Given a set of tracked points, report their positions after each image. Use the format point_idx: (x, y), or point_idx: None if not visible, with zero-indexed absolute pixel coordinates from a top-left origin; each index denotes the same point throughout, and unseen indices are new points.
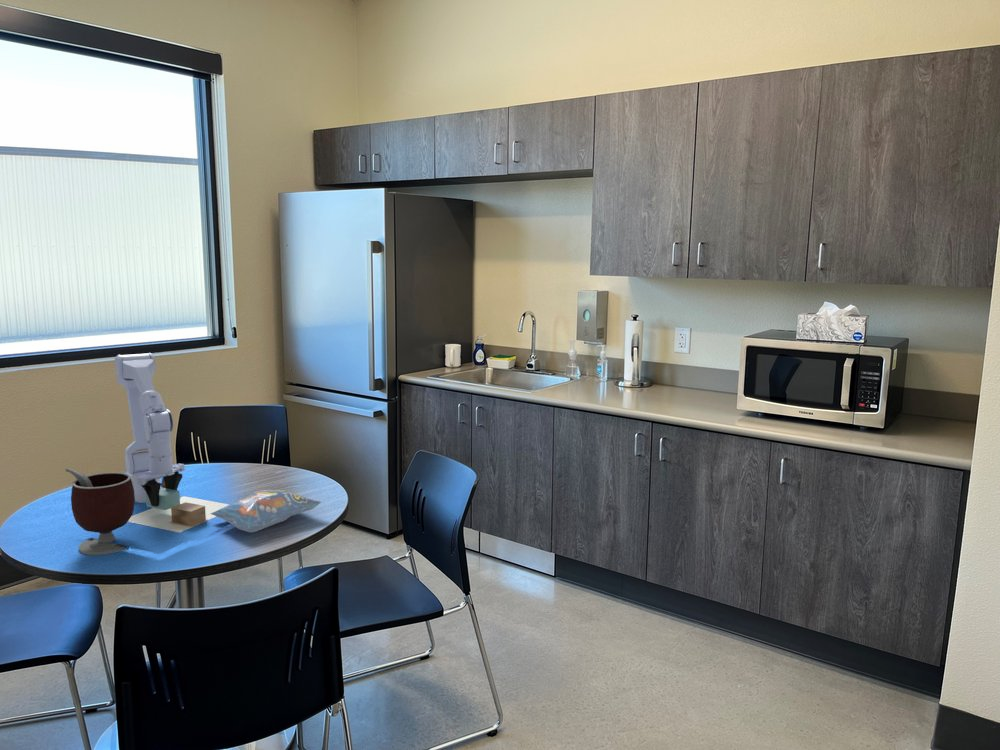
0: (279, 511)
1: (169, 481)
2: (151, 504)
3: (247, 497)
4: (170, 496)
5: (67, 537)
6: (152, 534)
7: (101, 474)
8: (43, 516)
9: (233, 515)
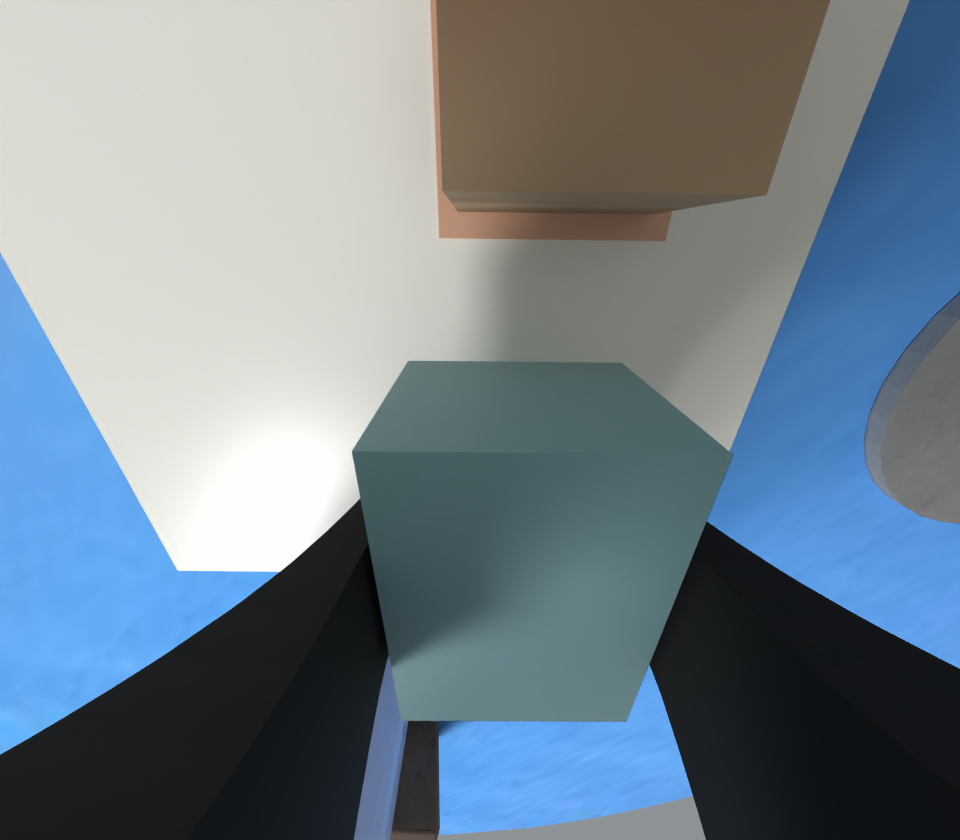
0: None
1: (326, 796)
2: None
3: None
4: (578, 429)
5: (873, 618)
6: (838, 234)
7: None
8: (644, 774)
9: None
